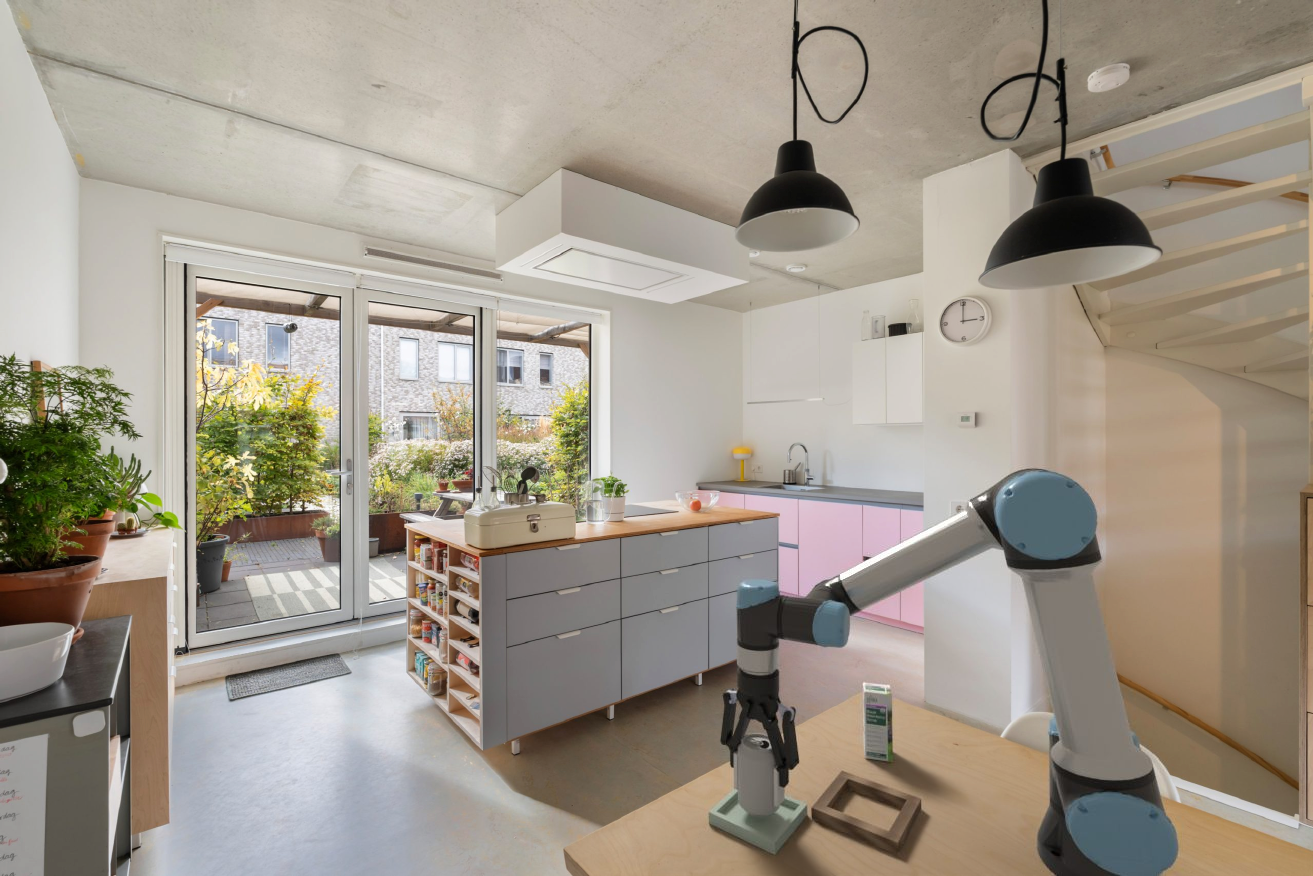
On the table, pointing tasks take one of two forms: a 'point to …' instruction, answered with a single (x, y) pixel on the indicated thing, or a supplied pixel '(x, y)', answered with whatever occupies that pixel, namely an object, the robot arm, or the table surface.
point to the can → (756, 775)
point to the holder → (859, 828)
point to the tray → (758, 822)
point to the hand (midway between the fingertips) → (758, 794)
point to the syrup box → (877, 722)
